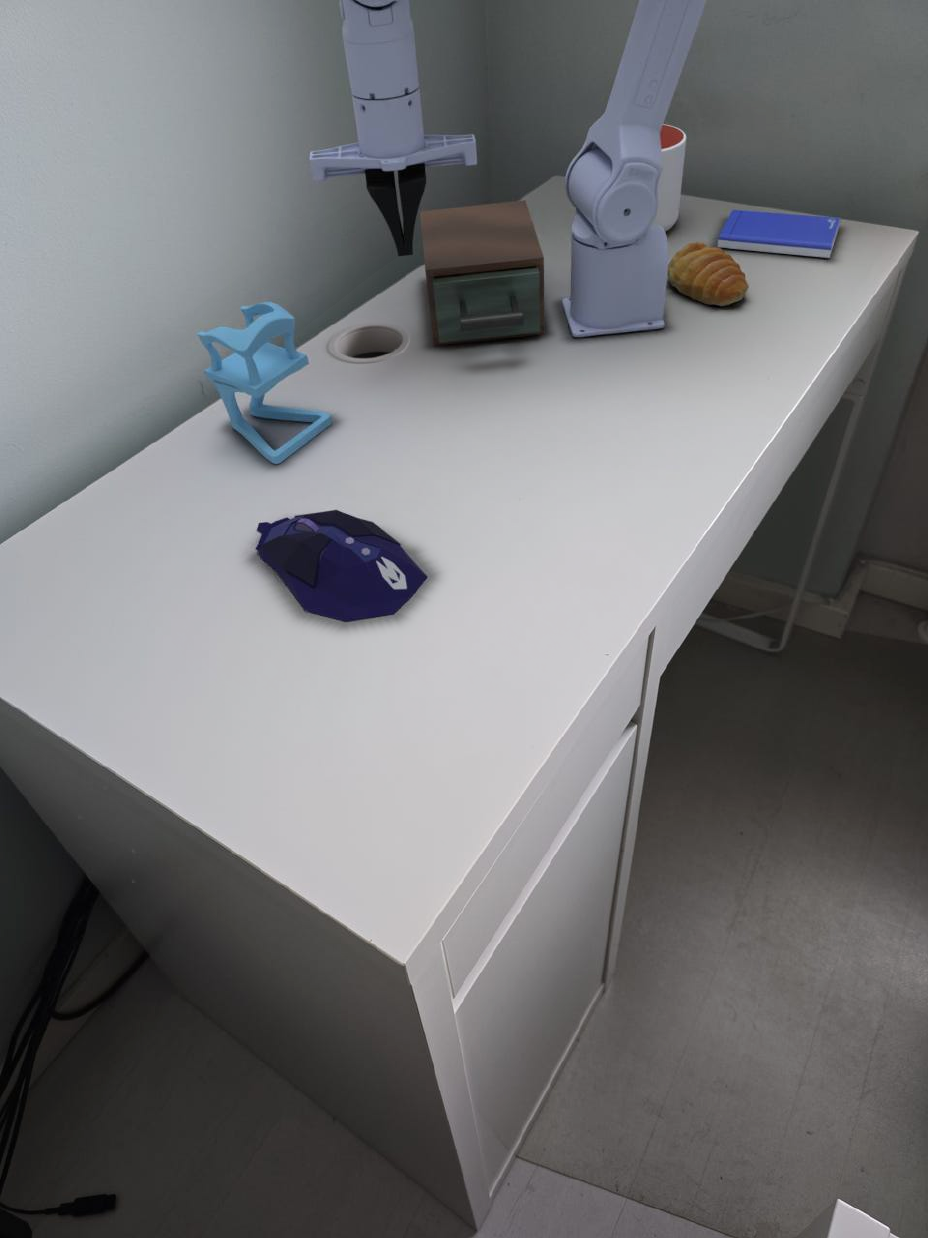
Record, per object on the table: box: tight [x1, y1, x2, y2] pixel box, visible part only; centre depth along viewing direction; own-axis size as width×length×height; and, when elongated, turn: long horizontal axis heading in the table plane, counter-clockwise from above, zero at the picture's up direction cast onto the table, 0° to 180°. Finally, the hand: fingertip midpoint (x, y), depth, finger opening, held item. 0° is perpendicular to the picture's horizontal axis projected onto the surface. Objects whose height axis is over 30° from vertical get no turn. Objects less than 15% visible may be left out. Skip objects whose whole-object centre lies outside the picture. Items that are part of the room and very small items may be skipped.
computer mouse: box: [254, 509, 428, 622], centre depth 66 cm, size 9×15×4 cm, turn 58°
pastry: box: [667, 241, 749, 307], centre depth 93 cm, size 9×7×4 cm
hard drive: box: [717, 209, 842, 259], centre depth 101 cm, size 2×8×12 cm
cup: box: [652, 123, 687, 233], centre depth 104 cm, size 10×10×10 cm
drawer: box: [433, 267, 540, 343], centre depth 90 cm, size 18×10×6 cm, turn 4°
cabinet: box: [419, 199, 545, 347], centre depth 93 cm, size 15×12×8 cm
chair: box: [197, 301, 332, 465], centre depth 77 cm, size 8×8×12 cm
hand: (405, 251), depth 83 cm, fingers closed
